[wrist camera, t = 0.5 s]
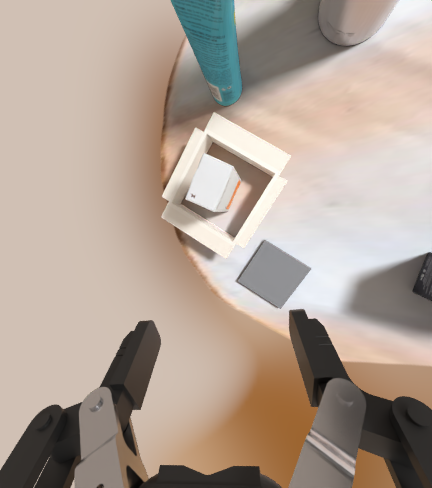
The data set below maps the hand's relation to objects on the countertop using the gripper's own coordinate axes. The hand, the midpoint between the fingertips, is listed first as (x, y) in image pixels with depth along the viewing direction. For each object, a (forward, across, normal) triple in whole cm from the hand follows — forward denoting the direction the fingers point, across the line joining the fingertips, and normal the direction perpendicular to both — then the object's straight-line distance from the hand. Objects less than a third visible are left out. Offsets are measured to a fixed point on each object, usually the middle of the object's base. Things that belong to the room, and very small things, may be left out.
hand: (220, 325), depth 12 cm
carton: (+28, 0, -1) cm, 28 cm away
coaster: (+22, -7, +14) cm, 27 cm away
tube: (+33, -2, -16) cm, 37 cm away
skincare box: (+28, 0, -1) cm, 28 cm away
